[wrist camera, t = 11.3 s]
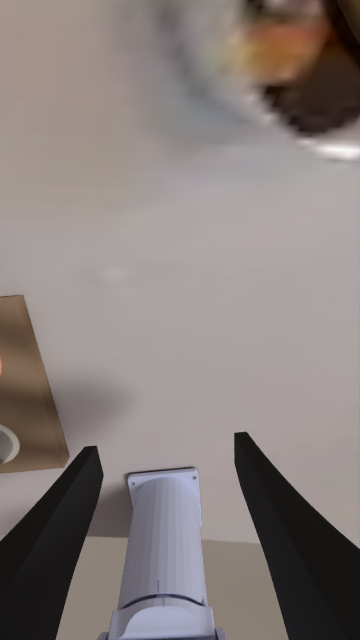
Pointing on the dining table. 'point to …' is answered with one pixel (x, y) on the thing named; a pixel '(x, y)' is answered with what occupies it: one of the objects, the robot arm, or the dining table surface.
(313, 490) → the dining table surface
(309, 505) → the robot arm
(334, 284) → the dining table surface
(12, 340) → the board
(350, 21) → the wooden plate with food
